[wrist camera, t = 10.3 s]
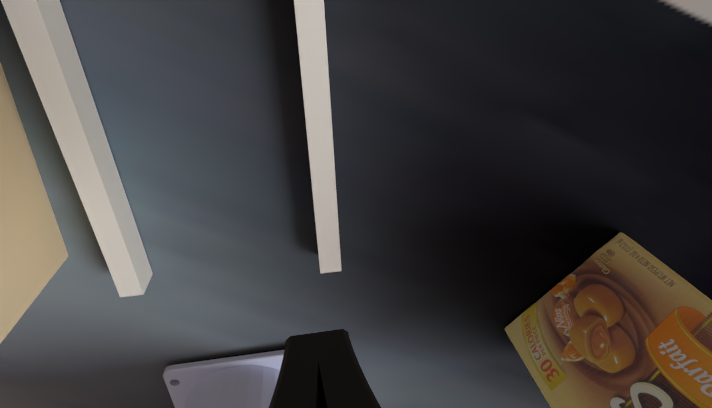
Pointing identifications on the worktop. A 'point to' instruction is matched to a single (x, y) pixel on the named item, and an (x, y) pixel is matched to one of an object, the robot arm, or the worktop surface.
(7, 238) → the tall tan wooden block
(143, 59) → the worktop surface
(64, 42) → the divider organiser
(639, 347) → the candy box
